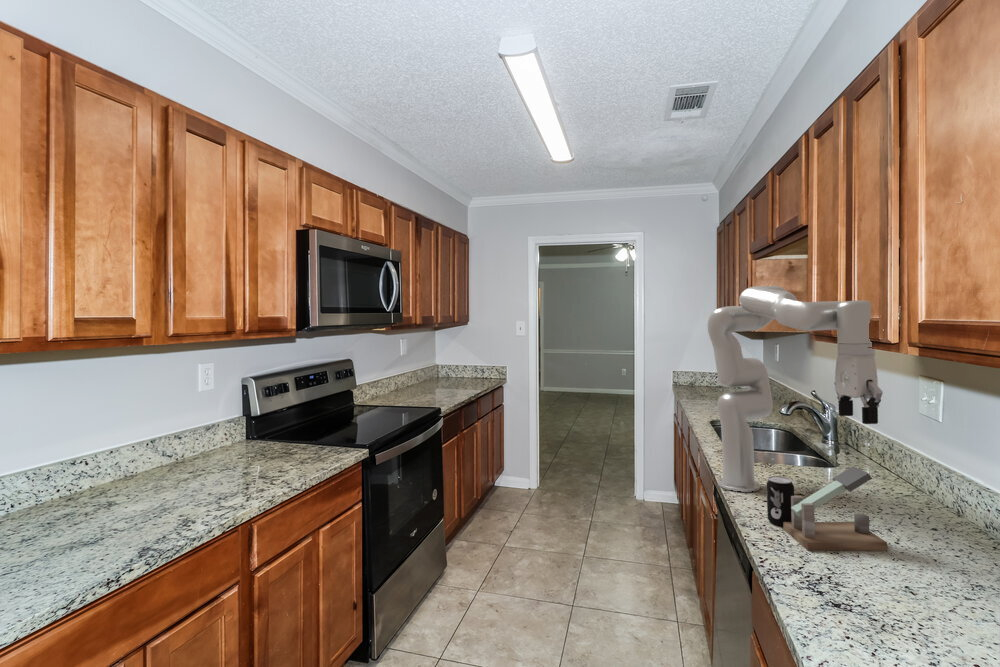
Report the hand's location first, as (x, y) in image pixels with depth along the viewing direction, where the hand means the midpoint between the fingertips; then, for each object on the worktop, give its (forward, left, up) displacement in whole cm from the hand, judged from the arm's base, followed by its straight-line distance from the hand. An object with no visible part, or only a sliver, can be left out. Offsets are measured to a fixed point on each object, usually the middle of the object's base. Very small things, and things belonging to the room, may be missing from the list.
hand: (857, 419), depth 122 cm
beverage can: (-11, -14, -30) cm, 35 cm away
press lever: (0, -7, -19) cm, 20 cm away
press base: (0, -6, -30) cm, 31 cm away
